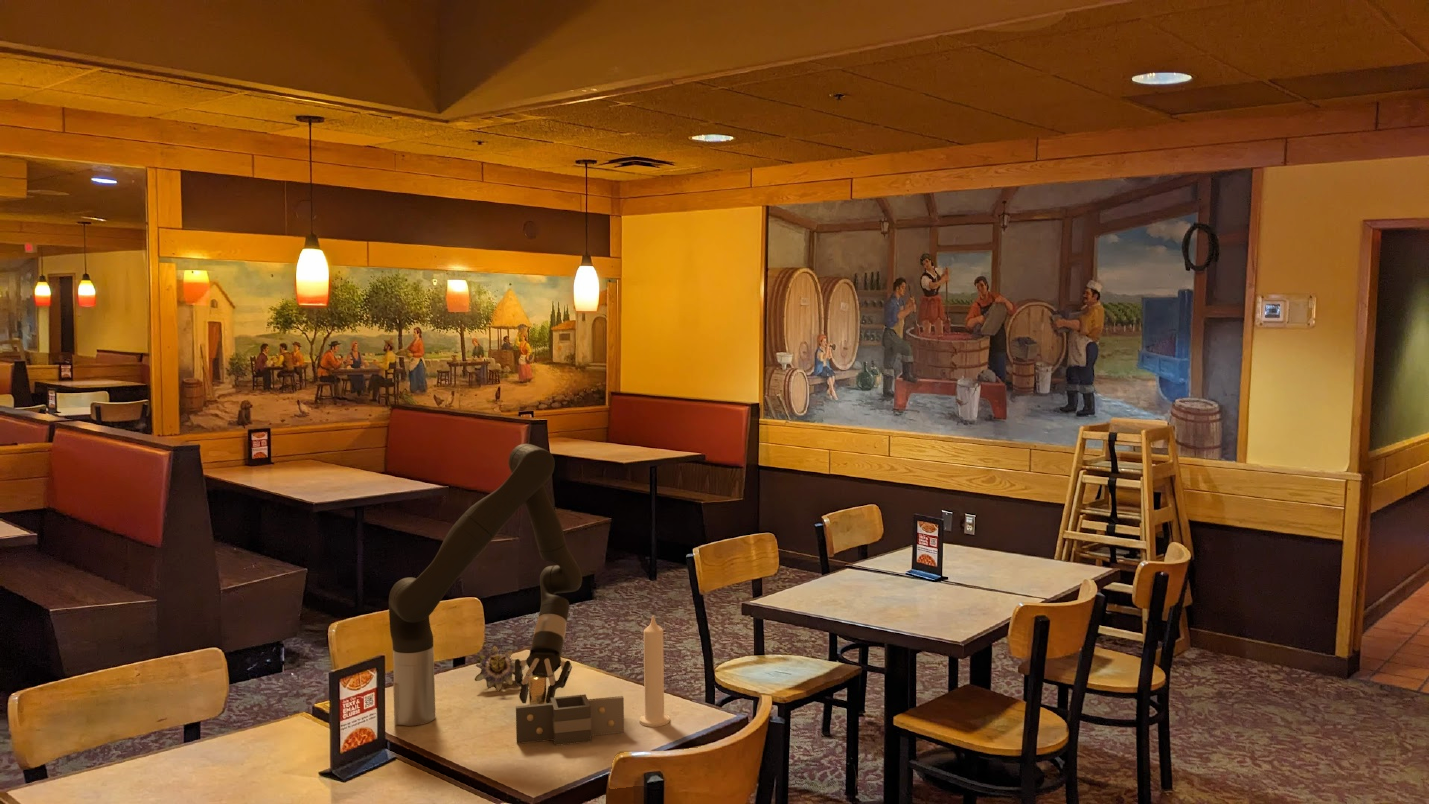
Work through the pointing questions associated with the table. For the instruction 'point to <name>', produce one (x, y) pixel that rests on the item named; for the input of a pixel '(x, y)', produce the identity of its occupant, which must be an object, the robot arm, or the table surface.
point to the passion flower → (496, 668)
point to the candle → (654, 677)
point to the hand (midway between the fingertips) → (535, 702)
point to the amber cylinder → (537, 689)
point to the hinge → (569, 719)
